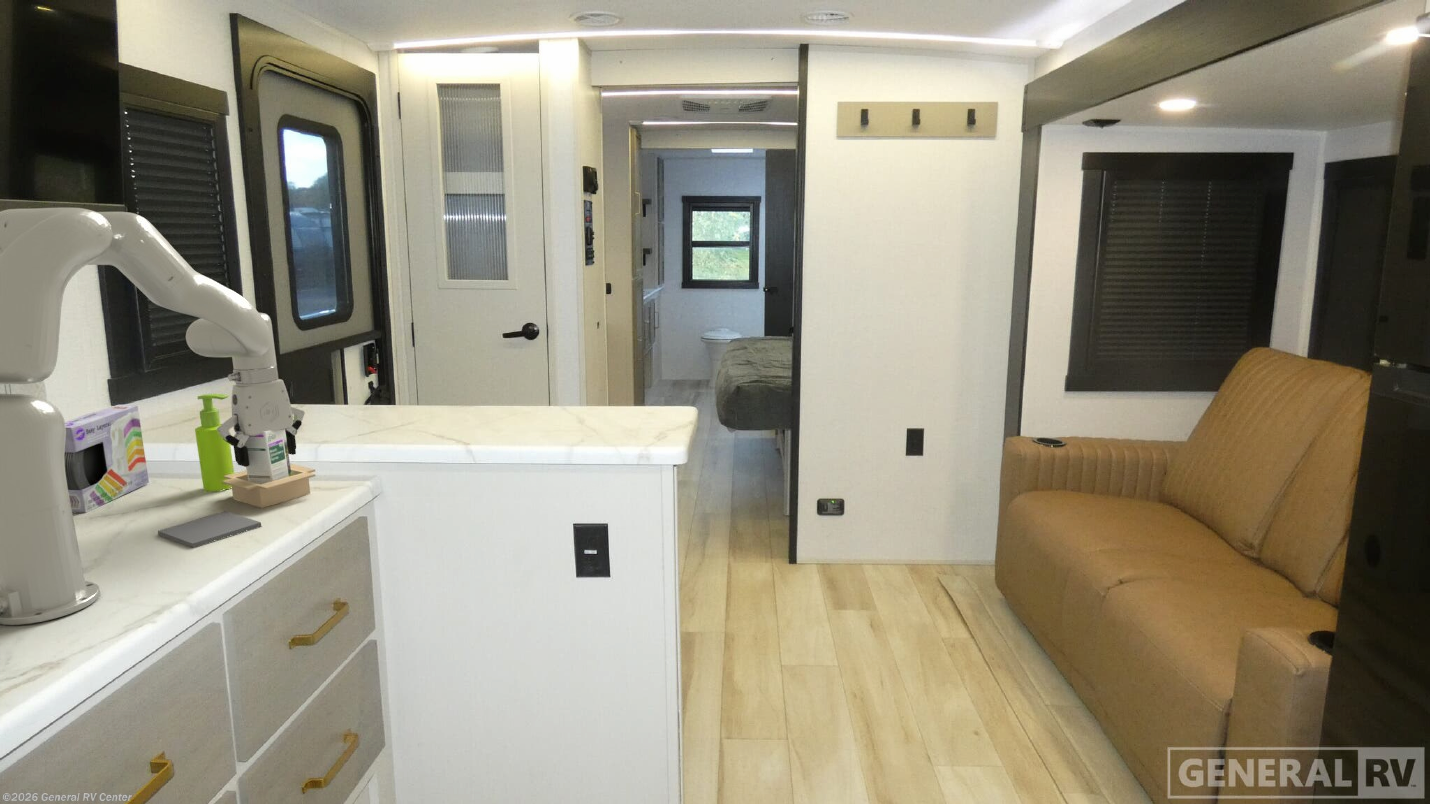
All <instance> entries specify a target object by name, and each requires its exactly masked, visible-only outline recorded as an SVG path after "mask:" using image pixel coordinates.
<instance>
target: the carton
mask: <svg viewBox="0 0 1430 804" xmlns="http://www.w3.org/2000/svg"><path fill="white" fill-rule="evenodd" d="M290 468H291V475H292V476H290V477H286V478H283V479H279V480H275V481H272V482H268V483H264V484H261V485H260V484H256V483H253V482H249V481H248V476H247V470H246V469H245V470H242V471H239V472H234V474H230V475H226V476H224V478H226V479H228V480H224V481H222V483H224V484H228V485H231V486H232V488H231V491H232V498H233V500H234V499H235V500H234V501H237V500H239V501H238V502H240V503H241V502H242V503H245V504H247V503H248V505H252V506H254V507H258V508H260V509H263V508H266V507H269V506H272V505H277V504H280V503H284V502H286V501H291V500H293V499H296V498H300V497H304V496H306V495H307V496H308V495H310V494H311V487H310V480H309V479H310V478H314V477H316V473H314V472H316V469H314V468H311V467H307V466H303V465H302V466H301V465H299V464H293V463H291V462H290Z"/></svg>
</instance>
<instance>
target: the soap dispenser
mask: <svg viewBox="0 0 1430 804" xmlns="http://www.w3.org/2000/svg"><path fill="white" fill-rule="evenodd" d="M228 397H229V395H226V394H222V393H206V394H201V395H198V396H197V400H202V406H203V409H201V410H200V411H199V416H200V425H201V426H197V427H196V428H194V432H195V439H196V445H197V446H196V447H197V453H198V454H197V455H198V459H199V460H198V461H199V466H200V467H199V468H200V474H201V480H202V488H203V491H204V490H206V491H205V492H207V491H217V492H221V491H220V490H223V489H228V490H230V489H229V488H231V487H232V486H231V485H228V484H224V483H222V481H224V480H228V479H226V478H224V476H226V475H230V474H234V473H235V472H234V471H235V469H234V462H233V455H232V448H231V445H230V444H229V443H228V442H226V441H225V440H223V437H222V436H221V435H220V434H219V433H218V431H217V428H218V427H219V426H220V425H222V424H223V423H221V420H220V418H221V417H220V413H219V409H218V408H216V407H214V403H213V402H214V401H213V399H216V400H225V399H227V398H228ZM231 489H232V488H231Z"/></svg>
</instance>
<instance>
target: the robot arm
mask: <svg viewBox="0 0 1430 804" xmlns="http://www.w3.org/2000/svg"><path fill="white" fill-rule="evenodd" d="M91 265H92V266H99V265H100V266H113V267H115V268H116V269H118V271H119V272H121V273H122V275H124V276H125V277H126V278H127V279H128V280H129V281H130V282H131V283H132V284H133V285H134V286H135V287H136V288H137V289H139V291H140V292H142V294H143V295H145V296H146V297H147V298H148V300H149V301H151V302H152V303H153V304H155V305H156V306H159V307H162V308H165V309H167V310H170V311H173V312H176V313H177V312H178V313H181V314H184V315H187V316H192V317H196V318H198V319H196V320H194V321H193V322H192V323H191V324H189V326H188V328H187V330H186V333H185V340H186V344H187V346H188V348H189V349H190V350H192V351H193V352H194V353H195V354H198V355H199V356H203V357H208V358H231V359H232V365H233V370H232V373H231V374H230V373H228V375H227V378H228V381H229V382H234V383H235V384H233V385H232V390H231V417H230V418H228V419H227V420H225V421H224V422H222V423H221V424H222V425H220V426H219V427H218V428H217V431H218V433H219V434H220V435H221V436H222V437H223V440H225V441H226V442H228V443H229V444H230V447H231V446H232V447H233V451H234V459H235V461H236V464H237V465H238V466H241V467H244V468H246V467H247V466H249V465H250V464H249V456H248V449H247V447H246V446H244V444H245V443H246V441H247V439H248V438H249V436H258V435H261V434H262V432H263V431H268V430H271V431H280V430H284V429H285V432H286V439H287V447H288V454H289V455H293V456H294V455H296V453H297V451H296V449H297V442H296V435H297V434H298V430H299V429H300V427H301V426H302V424H303V422H302V421H303V419H304V417H305V411H304V410H302V409H298V408H297V407H296V408H295V407H292V406H291V402H290V397H289V393H288V391H287V388H286V387H287V386H286V385H285V383H284V380H283V379H280V378H279V371H278V364H277V356H276V349H275V341H274V333H273V332H274V331H273V324H272V320H271V317H270V315H268V314H267V313H263V312H259V311H258V310H257V309H256V308H255V307H254V305H252V304H251V303H250V302H249V301H248V300H247V299H246V298H245V297H243V296H242V295H241V294H239V293H237V292H236V291H234V290H232V289H230V288H229V287H227V286H225V285H223V284H221V283H219V282H217V281H215V280H213V279H212V278H210V277H208V276H206V275H203V274H202V273H199V272H197V271H196V270H194V268H193V267H192V266H191V265H190V264H189V263H188V262H187V261H186V260H185V259H184V257H183V256H181V254H180V253H179V252H178V251H177V250H176V249H175V248H174V247H173V246H172V245H171V244H170V242H169V241H168V240H167V239H166V238H165V237H164V236H163V235H162V234H161V233H160V232H159V230H158V229H157V228H156V227H155V226H154V225H153V224H152V223H151V222H150V221H149V220H148V219H146V218H145V217H143V216H141V215H139V214H138V213H137V214H136V213H134V212H127V211H95V210H91V209H87V208H82V207H42V208H41V207H40V208H39V207H37V208H10V209H8V208H7V209H5V210H1V211H0V385H30V384H31V385H32V384H36V383H40V382H43V381H45V380H46V379H48V378H49V377H50V376H51V375H52V374H54V371H55V369H56V366H57V362H58V357H59V356H58V355H59V346H60V345H59V344H60V342H59V341H60V330H61V320H62V319H61V317H62V306H63V298H64V297H63V296H64V293H65V290H66V288H67V286H68V284H69V282H70V280H72V278H73V276H75V275H76V274H77V272H79V271H80V270H81V269H83V268H85V267H86V266H91ZM65 422H66V421H65V419H64V416H63V414H62V413H61V410H59V408H57V407H56V405H54V404H53V403H52V402H50V401H49V400H46V399H45V398H42V397H39V396H34V395H29V394H21V393H0V624H1V625H8V626H9V625H10V626H19V625H20V626H21V625H29V624H31V625H32V624H37V623H42V622H47V621H51V620H54V619H55V620H56V619H59V618H62V617H65V616H69V615H70V614H73V613H76V612H79V611H80V610H82V609H85V608H86V607H89V606H91V605H92V604H93V603H94V602H96V601H97V600H98V599H99V597H100V596H101V589H100V585H99V584H97V583H95V582H92V581H87V580H86V579H85V575H84V570H83V563H82V559H81V553H80V548H79V542H78V536H77V532H76V525H75V521H74V520H75V519H74V515H73V514H74V513H72V508H71V503H70V498H69V492H68V487H67V480H66V473H65V460H64V454H65V439H66V426H65ZM232 428H233V431H234V432H235V434H234V435H232V434H231V433H230V430H231V429H232Z"/></svg>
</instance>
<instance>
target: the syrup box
mask: <svg viewBox="0 0 1430 804" xmlns="http://www.w3.org/2000/svg"><path fill="white" fill-rule="evenodd" d="M244 446H246V447H247V449H248V456H249V464H250V465H249V466H247V467H245V468H246V469H245V470H247V476H248V481H249V482H253V483H256V484H260V485H261V484H264V483H268V482H272V481H275V480H279V479H283V478H286V477H290V476H292V475H291V468H290V463H291V462H290V456H289V455H290V454H288V447H287V439H286V432H285V429H284V430H280V431H271V430H268V431H263V432H262V434H261V435H258V436H249V438H248V439H247V441H246V443H245V444H244Z"/></svg>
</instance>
